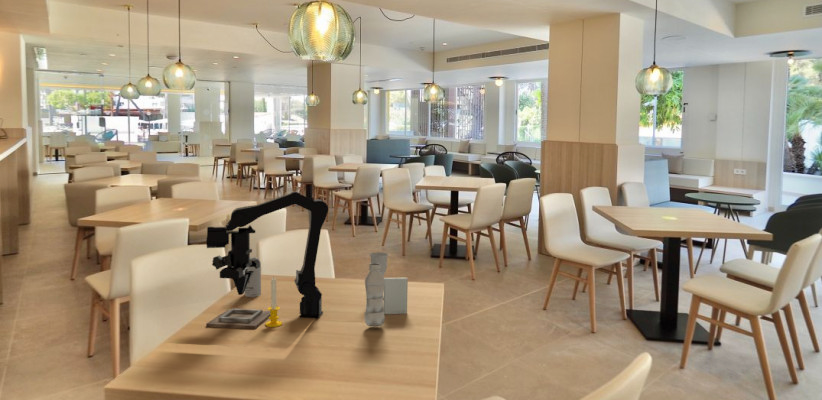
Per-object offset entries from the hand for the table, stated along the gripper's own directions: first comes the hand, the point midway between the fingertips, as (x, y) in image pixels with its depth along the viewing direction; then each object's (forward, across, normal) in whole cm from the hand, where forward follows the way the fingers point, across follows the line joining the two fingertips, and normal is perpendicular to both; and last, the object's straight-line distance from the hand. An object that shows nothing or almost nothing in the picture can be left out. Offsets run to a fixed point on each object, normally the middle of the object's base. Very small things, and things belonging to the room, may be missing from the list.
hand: (240, 294), depth 177 cm
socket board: (+9, 0, 0) cm, 9 cm away
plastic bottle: (+9, 0, +44) cm, 45 cm away
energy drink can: (+9, -28, -7) cm, 30 cm away
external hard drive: (+9, -15, +49) cm, 52 cm away
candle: (+9, +3, +12) cm, 15 cm away
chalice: (+9, -29, +41) cm, 51 cm away
